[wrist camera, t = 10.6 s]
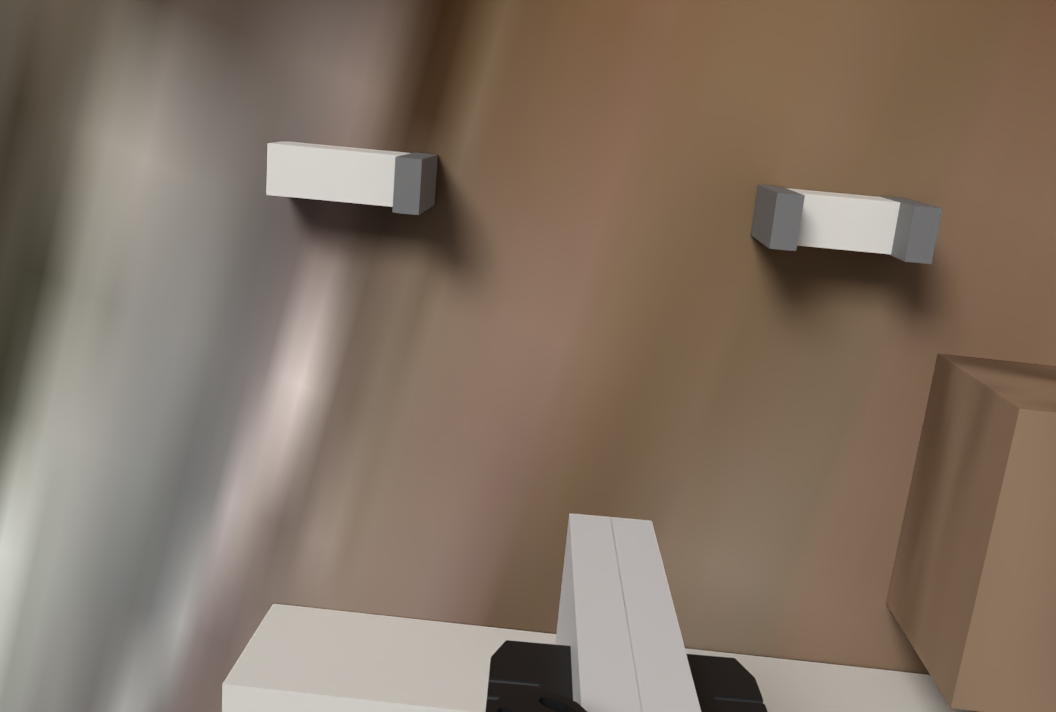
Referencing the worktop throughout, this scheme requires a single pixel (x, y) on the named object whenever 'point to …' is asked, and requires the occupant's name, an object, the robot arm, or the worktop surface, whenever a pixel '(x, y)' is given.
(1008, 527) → the block
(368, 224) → the worktop surface
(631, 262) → the worktop surface
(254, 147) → the worktop surface
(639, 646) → the robot arm
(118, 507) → the worktop surface
